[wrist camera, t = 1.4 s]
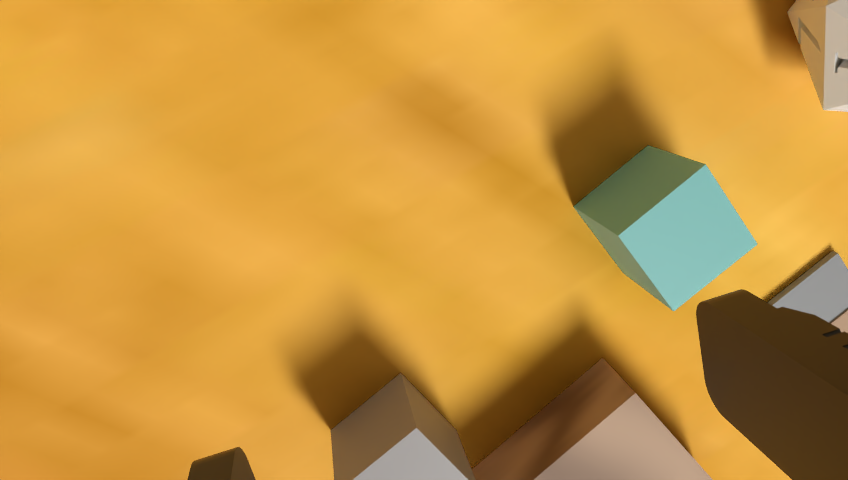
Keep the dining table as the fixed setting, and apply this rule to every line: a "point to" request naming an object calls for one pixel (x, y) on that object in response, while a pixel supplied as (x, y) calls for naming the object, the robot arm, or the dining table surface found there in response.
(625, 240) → the teal block
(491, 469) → the walnut base block
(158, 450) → the dining table surface
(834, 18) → the die
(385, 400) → the gray block
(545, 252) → the dining table surface
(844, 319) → the card
